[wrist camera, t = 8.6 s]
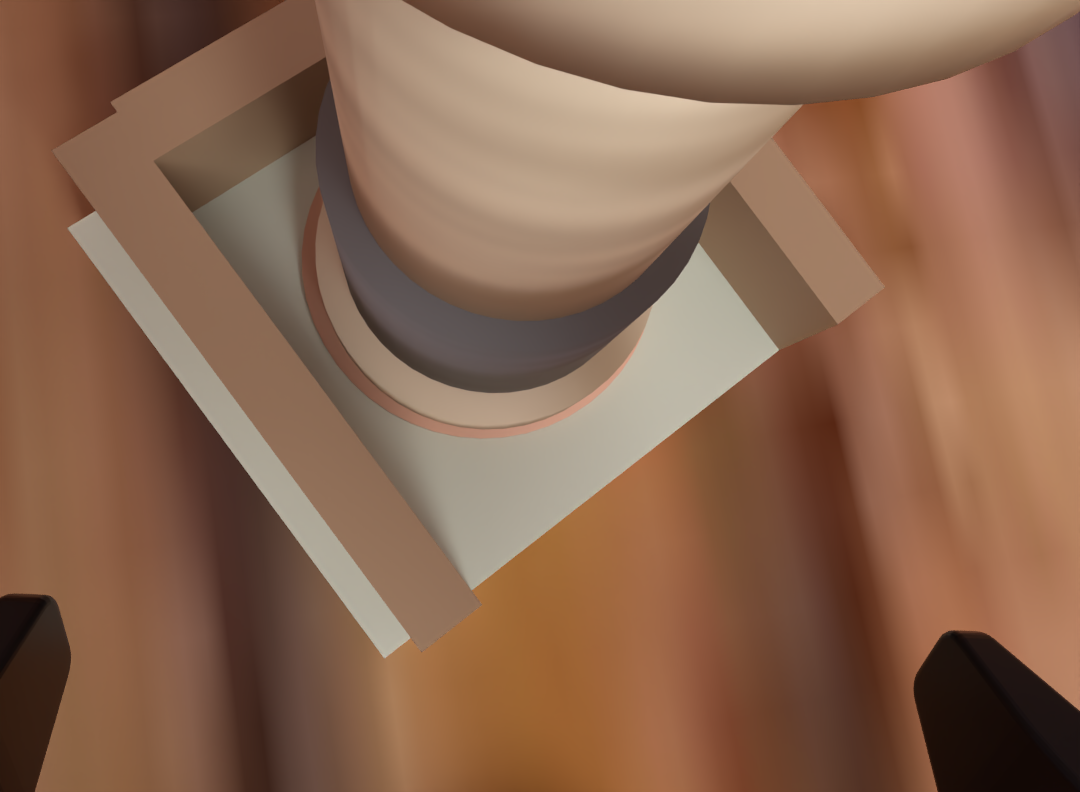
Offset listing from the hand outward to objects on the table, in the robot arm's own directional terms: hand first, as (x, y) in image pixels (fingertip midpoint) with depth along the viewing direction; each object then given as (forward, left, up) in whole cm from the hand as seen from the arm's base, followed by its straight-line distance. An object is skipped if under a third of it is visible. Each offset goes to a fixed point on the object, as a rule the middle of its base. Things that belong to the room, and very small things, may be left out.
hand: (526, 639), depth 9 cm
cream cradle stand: (+4, +5, -9) cm, 11 cm away
